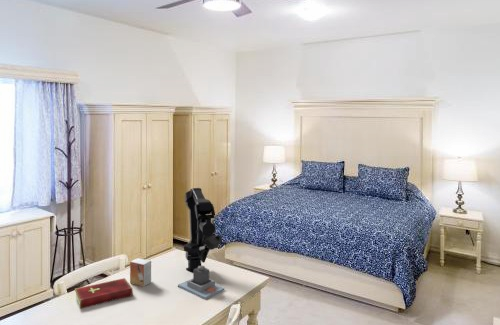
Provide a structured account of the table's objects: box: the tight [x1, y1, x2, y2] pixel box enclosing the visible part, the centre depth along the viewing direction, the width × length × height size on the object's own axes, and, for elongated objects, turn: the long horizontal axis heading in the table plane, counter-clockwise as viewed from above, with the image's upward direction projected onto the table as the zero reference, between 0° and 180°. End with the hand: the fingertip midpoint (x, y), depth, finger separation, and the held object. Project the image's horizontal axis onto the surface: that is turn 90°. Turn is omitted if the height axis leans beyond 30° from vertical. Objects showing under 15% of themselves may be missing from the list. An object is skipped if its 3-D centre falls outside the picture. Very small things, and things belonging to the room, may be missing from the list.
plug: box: [192, 265, 210, 286], centre depth 169 cm, size 5×5×9 cm
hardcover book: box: [74, 277, 134, 309], centre depth 160 cm, size 12×21×4 cm, turn 124°
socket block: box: [177, 278, 225, 300], centre depth 170 cm, size 18×12×4 cm, turn 50°
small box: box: [129, 257, 152, 287], centre depth 174 cm, size 8×6×10 cm
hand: (203, 262), depth 170 cm, fingers closed
